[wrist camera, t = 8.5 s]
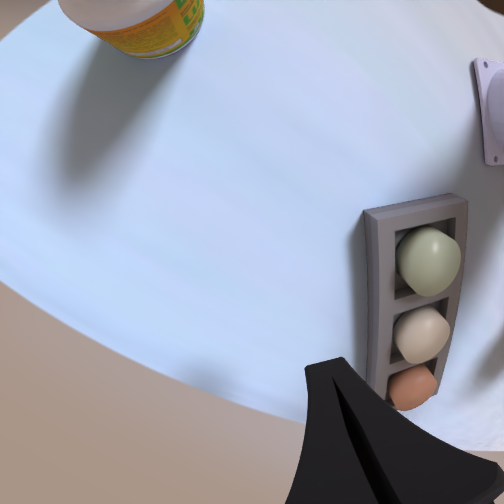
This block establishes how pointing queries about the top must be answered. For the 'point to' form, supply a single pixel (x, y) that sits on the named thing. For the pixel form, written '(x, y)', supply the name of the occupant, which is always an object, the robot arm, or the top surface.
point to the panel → (398, 291)
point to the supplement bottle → (139, 23)
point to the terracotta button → (411, 387)
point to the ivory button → (420, 334)
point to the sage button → (428, 260)
